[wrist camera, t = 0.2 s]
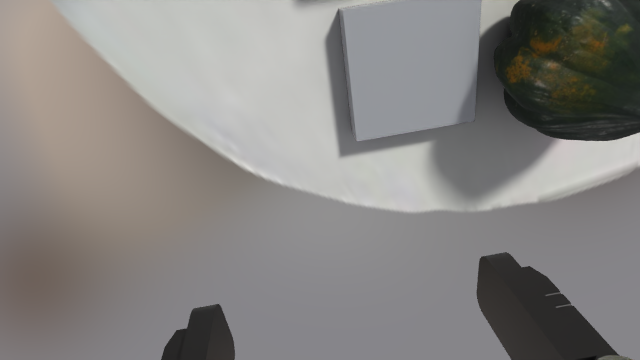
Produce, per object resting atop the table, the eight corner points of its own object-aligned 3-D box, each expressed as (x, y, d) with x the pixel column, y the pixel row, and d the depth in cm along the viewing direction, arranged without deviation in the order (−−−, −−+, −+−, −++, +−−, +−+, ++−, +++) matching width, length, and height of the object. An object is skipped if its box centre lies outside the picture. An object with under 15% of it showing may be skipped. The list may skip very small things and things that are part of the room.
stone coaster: (338, 8, 34) (342, 10, 31) (468, -13, 34) (482, -13, 32) (352, 132, 39) (356, 141, 37) (463, 113, 40) (474, 120, 37)
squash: (576, -105, 27) (631, 67, 21) (726, -51, 30) (808, 111, 25) (459, 32, 40) (475, 162, 34) (573, 60, 43) (605, 182, 38)
